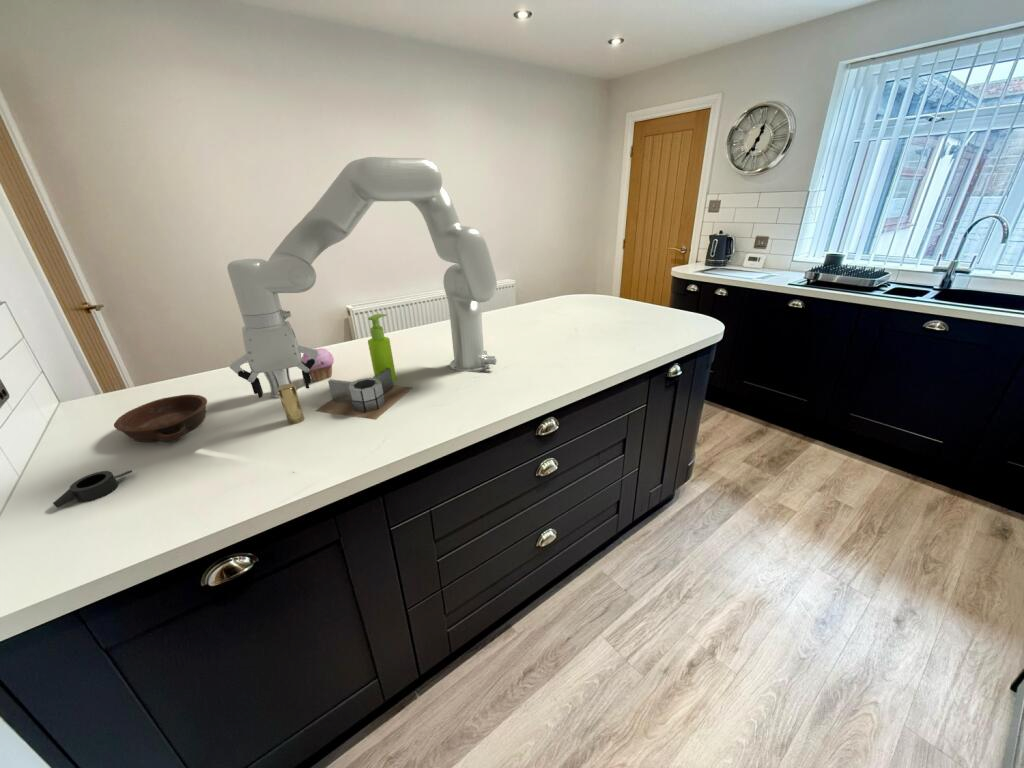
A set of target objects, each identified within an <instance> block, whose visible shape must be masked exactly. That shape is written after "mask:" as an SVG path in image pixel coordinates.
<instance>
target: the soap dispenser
mask: <svg viewBox="0 0 1024 768" xmlns="http://www.w3.org/2000/svg"><path fill="white" fill-rule="evenodd" d="M384 317H387V314H385V313H377V314H373V315H372V316H369V317H367V318H368V321H371V324H372V326H371V327H370V328H369V330H370V335H371V336H370V337H371V338H369V339H368V341H367V344H368V350H369V354H370V359H371V364H372V370H373V375H374V376H376V375H377V374H378V373H380V372H381V371H383V370H384V369H386V368H390V369H391V375H392V380H393V381H395V380H396V379H397V376H396V369H395V364H394V363H395V362H394V357H393V352H392V345H391V339H390V338H389V337H388V336H385V333H384V328H383V326H382V325H381V326H380V323H379V319H381V318H384Z"/></svg>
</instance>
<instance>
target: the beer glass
mask: <svg viewBox="0 0 1024 768" xmlns="http://www.w3.org/2000/svg"><path fill="white" fill-rule="evenodd" d="M263 375H264V376H265V378H266V380H267V382H268V384H269V387H270V395H271V397H272V396H273V397H272V398H274V397H280V396H279V393H278V390H277V388H278V387H280V386H282V385H285V384H293V383H292V380H291V375H290V368H286V369H281V370H275V371H269V372H263Z"/></svg>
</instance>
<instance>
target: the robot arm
mask: <svg viewBox="0 0 1024 768" xmlns="http://www.w3.org/2000/svg"><path fill="white" fill-rule="evenodd" d="M375 202H410V203H412V204H413V205H414V206H415V208H417V209H418V211H419V212H420V214H421V216H422V218H423V219H424V222H425V224H426V226H427V231H428V232H429V235H430V238H431V240H432V244H433V245H434V250H435V251H436V253H437V255H438V257H439V258H440V259H441V260H442V261H444V262H448V263H453V264H452V265H450V266H449V267H448V268H446V270H445V273H444V275H443V281H442V282H443V288H444V292H445V295H446V299H447V300H446V301H447V303H448V309H449V310H448V311H449V318H450V319H449V320H450V321H449V322H450V331H451V332H450V333H451V340H452V350H453V351H452V352H453V359H452V360H451V362H450V363H449V368H450V370H452V371H458V372H466V373H467V372H468V373H479V372H482V371H485V370H487V369H489V367H490V365H494V366H495V365H496V364H497V362H498V361H497V358H496V356H495V355H488V350H484V349H485V348H484V334H483V317H482V308H481V304H480V303H487V302H489V301H490V300H492V299H493V298H494V296H495V295H496V291H497V285H498V284H497V277H496V272H495V268H494V265H493V261H492V258H491V255H490V251H489V247H488V245H487V241H486V239H485V238H484V236H483V235H482V233H480V231H479V230H477V229H476V228H474V227H471V226H466V225H465V226H464V225H462V224H461V221H460V219H459V216H458V213H457V211H456V209H455V204H454V203H453V200H452V198H451V196H450V195H449V193H447V190H446V189H445V188H444V187H443V178H442V174H441V171H440V170H439V168H438V166H437V165H436V164H435V163H434V162H433V161H431V160H430V159H427V158H421V157H420V158H418V157H413V158H412V157H384V156H369V157H368V156H367V157H363V158H362V157H361V158H358V159H354V160H352V161H350V162H348V164H346V165H345V166H344V167H343V168H342V170H341V172H340V173H339V174H338V175H337V176H336V178H335V179H334V180H333V181H332V183H331V184H330V186H329V187H328V188H327V189H326V191H325V192H324V193H323V194H322V196H321V197H320V198H319V200H318V201H317V202H316V203H315V204H314V206H313V207H312V209H310V210H309V211H308V212H307V213H306V214H305V215H304V217H303V218H302V219H301V220H300V221H299V222H298V223H297V224H296V225H295V226H294V227H293V228H292V229H291V231H289V232H288V234H287V235H285V236H284V239H283V240H282V241H281V243H280V244H278V246H277V247H276V248H275V250H274V252H273V253H272V254H271V255H270V256H269V258H268V260H265V259H262V258H243V259H237V260H232V261H230V262H229V263H228V264H227V266H226V268H227V269H226V270H227V274H228V276H229V280H230V283H231V286H232V288H233V289H232V290H233V292H234V296H235V299H236V301H237V305H238V309H239V311H240V315H241V318H242V321H243V324H244V326H243V327H241V332H242V341H243V345H244V350H245V354H243V355H241V356H240V357H239V358H237V359H235V360H234V361H232V362H231V363H230V364H229V368H230V370H232V371H233V372H234V373H235V374H237V375H238V377H240V378H241V379H244V380H246V381H247V382H248V383H250V385H251V387H252V392H253V393H254V395H257V396H258V399H262V398H263V396H264V390H263V388H262V385H261V382H260V379H259V378H258V375H259V374H262V373H263V372H269V371H275V370H281V369H286V368H289V369H292V368H296V367H297V368H298V369H299V370H301V374H302V379H303V383H304V386H305V389H310V384H312V383H313V382H312V379H311V377H310V374H309V371H310V369H311V368H312V366H313V365H314V364H315V360H316V358H317V355H318V352H317V350H314V349H315V348H311V347H310V348H309V347H306V346H303V345H299V344H298V340H297V337H296V334H295V332H294V329H293V327H292V325H291V323H290V322H289V321H288V320H287V319H288V318H292V314H291V310H288V311H286V310H284V309H282V305H281V304H282V303H281V301H280V297H279V294H300V293H304V292H308V291H309V290H311V289H312V288H313V287H314V285H315V284H316V282H317V272H316V270H315V268H314V267H313V265H312V264H313V263H314V262H315V260H316V259H317V258H318V257H319V256H320V255H322V253H323V252H324V251H326V249H328V248H329V247H332V246H334V245H336V244H338V243H340V242H341V241H343V240H345V239H346V238H347V237H349V235H351V233H352V232H353V230H354V229H355V228H356V226H357V225H358V224H359V223H360V221H361V219H362V218H363V217H364V215H365V214H366V213H367V212H368V210H369V209H370V208H371V207H372V206H373V204H374V203H375ZM302 354H308V355H310V359H309V360H308V361H307V362H306V363H305V362H303V361H302V360H301V358H302ZM247 362H248V365H249V368H250V372H249V371H247V370H245V369H243V368H242V367H241V366H242V365H244V364H245V363H247ZM263 374H264V373H263Z"/></svg>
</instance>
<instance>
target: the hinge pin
mask: <svg viewBox="0 0 1024 768" xmlns="http://www.w3.org/2000/svg"><path fill="white" fill-rule="evenodd" d="M277 390H278V393H279V396H280V401H281V405H282V408H283V411H284V414H285V417H286V420H287V423H288V424H290V425H297V424H300V423H302V422H304V421H305V419H306V418H305V414H304V411H303V408H302V404H301V402H300V398H299V396H298V392H297V388H296V385H295V384H294V383H292V384H285V385H282V386H280V387H278V388H277Z"/></svg>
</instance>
